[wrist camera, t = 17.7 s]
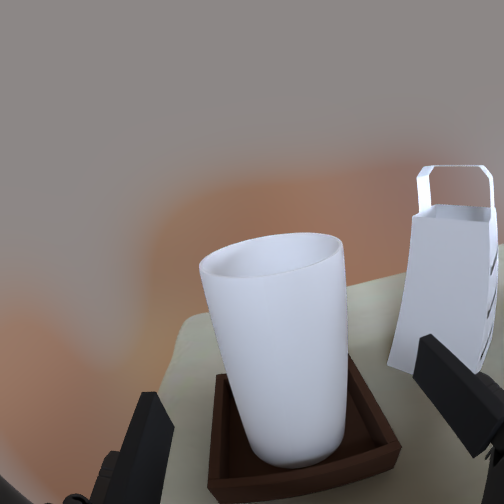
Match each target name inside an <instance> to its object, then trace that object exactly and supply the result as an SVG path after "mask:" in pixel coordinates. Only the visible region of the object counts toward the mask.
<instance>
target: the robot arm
mask: <svg viewBox="0 0 504 504" xmlns="http://www.w3.org/2000/svg"><path fill="white" fill-rule="evenodd" d="M413 379H414V380H415V381H416V383H417V384H418V385H419V386H420V388H421V389H422V390H423V391H424V393H425V394H426V395H427V397H428V398H429V399H430V400H431V402H432V403H433V404H434V406H435V407H436V408H437V410H438V411H439V412H440V414H441V415H442V416H443V418H444V419H445V420H446V422H447V423H448V424H449V426H450V427H451V428H452V430H453V431H454V432H455V434H456V435H457V437H458V438H459V439H460V441H461V442H462V443H463V445H464V446H465V448H466V449H467V450H468V452H469V453H470V455H471V456H472V458H473V459H474V458H475V457H476V456H478V455H479V454H481V453H482V452H483V451H485V450H486V448H487V447H488V446H489V444H490V443H492V445H493V447H492V448H491V449H490V451H489V452H488V454H487V455H486V457H485V460H487V458H488V457H489V456H490V459H489V460H490V463H489V469H488V475H487V480H486V485H485V490H484V495H483V499H482V503H481V504H504V390H503V389H502V388H500V386H499V385H498V384H497V383H495V381H494V380H493V379H492V378H490V377H489V376H488V375H486V374H484V373H482V372H478V373H476V374H474V373H473V372H472V371H471V370H470V369H469V368H468V367H467V366H466V365H465V364H464V363H462V362H461V361H460V360H459V359H458V358H457V357H456V356H455V355H454V354H453V353H452V352H451V351H450V350H449V349H448V348H446V347H445V346H444V345H443V344H442V343H441V342H440V341H439V340H438V339H437V338H436V337H434V336H433V335H432V334H428V335H425V336H423V337H420V338H419V345H418V351H417V357H416V362H415V368H414V373H413ZM174 428H175V427H174V425H173V423H172V421H171V420H170V418H169V416H168V414H167V412H166V410H165V408H164V407H163V405H162V403H161V401H160V399H159V397H158V395H157V393H156V392H142V393H141V396H140V398H139V401H138V403H137V406H136V409H135V411H134V414H133V417H132V419H131V422H130V425H129V427H128V430H127V433H126V436H125V439H124V441H123V444H122V447H121V450H120V452H118V451H110V453H109V454H108V455H107V456H106V457H105V458H104V461H103V463H102V466H101V469H100V471H99V476H98V477H97V480H96V482H95V485H94V488H93V491H92V494H91V497H90V500H88V499H87V498H86V497H84V496H83V495H81V494H71V495H69V496H67V497H66V498H65V500H64V501H63V504H160V501H161V495H162V489H163V484H164V478H165V473H166V468H167V462H168V457H169V452H170V447H171V442H172V437H173V432H174ZM490 454H491V455H490ZM46 504H51V503H46Z"/></svg>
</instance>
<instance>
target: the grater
mask: <svg viewBox="0 0 504 504" xmlns="http://www.w3.org/2000/svg"><path fill="white" fill-rule="evenodd" d="M434 166H438V165H434ZM434 166H424V167H423V169H422V170H421V172H420V173H419V175H418V176H417V186H418V198H419V212H420V213H418V214H416V215H414V216H413V217H412V230H411V241H410V250H409V258H408V267H407V273H406V280H405V286H404V292H403V297H402V303H401V308H400V313H399V318H398V322H397V327H396V331H395V335H394V339H393V343H392V347H391V351H390V355H389V359H388V362H387V365H388V366H391V367H393V368H396V369H399V370H401V371H404V372H407V373H409V374H412V375H413V373H414V368H415V362H416V357H417V351H418V345H419V338H420V337H423V336H425V335H428V334H432V335H433V336H434V337H436V338H437V339H438V340H439V341H440V342H441V343H442V344H443V345H444V346H445V347H446V348H448V349H449V350H450V351H451V352H452V353H453V354H454V355H455V356H456V357H457V358H458V359H459V360H460V361H461V362H462V363H464V364H465V365H466V366H467V367H468V368H469V369H470V370H471V371H472V372H473V373H474V374H476V373H478V372H480V369H481V367H482V364H483V362H484V359H485V356H486V354H487V351H488V348H489V345H490V342H491V339H492V334H493V327H494V319H495V311H496V300H497V285H498V233H497V219H496V208H494V188H493V177H492V175H491V174H490V172H489V171H488V170H487V169H486V168H485V166H483V165H478V166H479V167H480V168H481V169H482V170H483V171H484V173H485V174H486V175H487V176H488V178H489V179H490V197H491V208H486V207H474V206H459V205H442V204H436V205H433V206H432V207H431V198H430V185H429V174H430V172H431V171H432V169H433V168H434ZM439 166H477V165H439ZM488 338H489V340H488ZM487 340H488V343H487ZM486 343H487V346H486ZM485 346H486V348H485ZM484 348H485V351H484ZM483 351H484V354H483V356H482V359H481V361H480V358H481V353H483Z"/></svg>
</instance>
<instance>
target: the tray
mask: <svg viewBox="0 0 504 504" xmlns="http://www.w3.org/2000/svg"><path fill="white" fill-rule="evenodd" d="M401 448H402V446H401V445H400V443H399V441H398V439H397V437H396V436H395V434H394V432H393V430H392V428H391V427H390V425H389V423H388V421H387V419H386V418H385V416H384V414H383V412H382V411H381V409H380V407H379V405H378V403H377V402H376V400H375V398H374V396H373V395H372V393H371V391H370V390H369V388H368V386H367V384H366V383H365V381H364V379H363V377H362V376H361V374H360V372H359V371H358V369H357V367H356V365H355V364H354V362H353V360H352V359H351V357H350V355H349V354H348V376H347V402H346V418H345V431H344V436H343V439H342V441H341V443H340V445H339V446H338V448H337V449H336V450H335V451H334V452H333V453H332V454H331V455H330V456H329V457H327V458H326V459H324V460H322V461H321V462H319V463H316V464H314V465H311V466H307V467H303V468H281V467H276V466H273V465H270V464H268V463H266V462H264V461H263V460H261V459H260V458H259V457H258V456H257V455H256V454H255V453H254V452H253V450H252V448H251V446H250V444H249V441H248V438H247V435H246V432H245V429H244V426H243V423H242V420H241V417H240V414H239V411H238V408H237V405H236V402H235V399H234V396H233V392H232V389H231V386H230V383H229V379H228V376H227V373H226V374H218V375H216V385H215V396H214V408H213V419H212V432H211V444H210V458H209V472H208V486H207V488H208V489H209V491H210V492H211V493H212V495H213V496H214V497H215V498H216V500H217V501H218V502H219V503H220V504H235V503H250V502H260V501H269V500H276V499H283V498H290V497H295V496H301V495H306V494H311V493H315V492H320V491H324V490H328V489H332V488H336V487H339V486H343V485H346V484H350V483H353V482H356V481H359V480H362V479H365V478H368V477H371V476H374V475H377V474H379V473H382V472H385V471H387V470H390V469H392V468H394V465H395V463H396V461H397V458H398V456H399V454H400V451H401Z"/></svg>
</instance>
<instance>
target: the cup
mask: <svg viewBox="0 0 504 504" xmlns="http://www.w3.org/2000/svg"><path fill="white" fill-rule="evenodd" d="M199 270H200V276H201V280H202V285H203V289H204V293H205V297H206V301H207V305H208V308H209V312H210V316H211V320H212V324H213V327H214V331H215V335H216V338H217V342H218V345H219V349H220V352H221V356H222V359H223V363H224V366H225V370H226V373H227V376H228V379H229V383H230V386H231V389H232V392H233V396H234V399H235V402H236V405H237V408H238V411H239V414H240V417H241V420H242V423H243V426H244V429H245V432H246V435H247V438H248V441H249V444H250V446H251V448H252V450H253V452H254V453H255V454H256V455H257V456H258V457H259V458H260V459H261V460H263V461H264V462H266V463H268V464H270V465H273V466H276V467H281V468H303V467H307V466H311V465H314V464H316V463H319V462H321V461H322V460H324V459H326V458H327V457H329V456H330V455H331V454H332V453H333V452H334V451H335V450H336V449H337V448H338V446H339V445H340V443H341V441H342V439H343V436H344V431H345V418H346V402H347V376H348V319H347V292H346V275H345V261H344V250H343V245H342V242H341V240H340V239H338V238H336V237H334V236H331V235H326V234H320V233H287V234H279V235H271V236H265V237H260V238H255V239H250V240H246V241H242V242H239V243H236V244H232V245H230V246H226V247H224V248H221V249H219V250H217V251H215V252H213V253H211V254H209V255H208V256H206V257H205V258H204V259H203V260H202V261H201V262H200V264H199Z"/></svg>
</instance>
